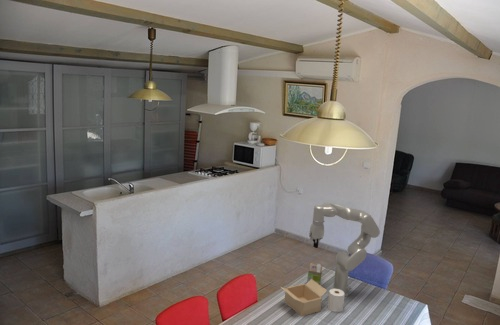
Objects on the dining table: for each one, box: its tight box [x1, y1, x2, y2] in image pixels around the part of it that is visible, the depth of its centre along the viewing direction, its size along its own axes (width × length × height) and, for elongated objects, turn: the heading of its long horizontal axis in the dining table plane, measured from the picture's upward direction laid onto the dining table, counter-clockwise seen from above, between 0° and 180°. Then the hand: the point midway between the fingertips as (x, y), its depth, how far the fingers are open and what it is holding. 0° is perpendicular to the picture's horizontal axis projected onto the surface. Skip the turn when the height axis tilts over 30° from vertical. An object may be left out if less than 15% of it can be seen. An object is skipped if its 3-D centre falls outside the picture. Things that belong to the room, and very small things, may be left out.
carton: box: [284, 283, 323, 317], centre depth 274 cm, size 16×21×10 cm
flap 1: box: [280, 286, 301, 302], centre depth 268 cm, size 6×18×1 cm, turn 30°
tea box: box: [306, 262, 323, 287], centre depth 304 cm, size 15×10×15 cm
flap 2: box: [305, 279, 328, 297], centre depth 278 cm, size 6×18×1 cm
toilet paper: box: [327, 287, 345, 313], centre depth 274 cm, size 10×10×12 cm
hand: (315, 247), depth 284 cm, fingers closed
